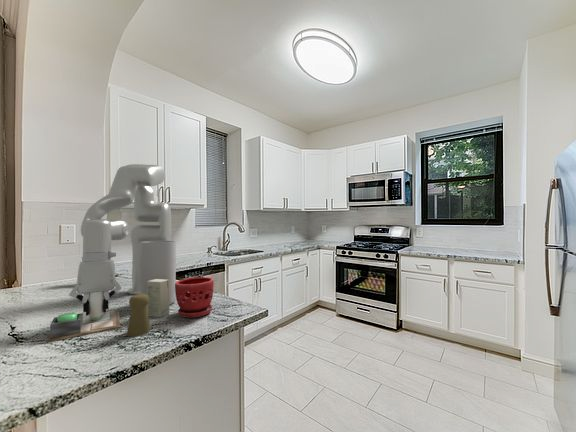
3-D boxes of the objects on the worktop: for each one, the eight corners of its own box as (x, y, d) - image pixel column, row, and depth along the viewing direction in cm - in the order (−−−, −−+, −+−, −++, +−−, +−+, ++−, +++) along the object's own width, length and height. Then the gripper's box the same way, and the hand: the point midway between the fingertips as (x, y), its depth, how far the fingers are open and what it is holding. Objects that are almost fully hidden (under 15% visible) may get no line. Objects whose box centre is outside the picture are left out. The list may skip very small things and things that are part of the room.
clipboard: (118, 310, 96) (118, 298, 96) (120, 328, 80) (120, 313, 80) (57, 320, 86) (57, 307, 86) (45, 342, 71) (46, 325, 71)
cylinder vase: (132, 306, 101) (134, 242, 101) (157, 298, 113) (158, 240, 113) (158, 310, 97) (159, 243, 98) (181, 300, 109) (182, 240, 110)
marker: (103, 314, 89) (104, 285, 88) (103, 319, 85) (104, 288, 85) (88, 317, 86) (89, 287, 86) (87, 322, 83) (88, 290, 83)
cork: (133, 328, 80) (133, 292, 80) (153, 327, 81) (154, 292, 81) (122, 336, 74) (123, 297, 74) (144, 336, 75) (145, 297, 75)
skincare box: (169, 313, 93) (170, 279, 93) (160, 317, 89) (160, 282, 89) (156, 311, 95) (156, 278, 96) (146, 315, 91) (146, 280, 91)
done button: (77, 319, 79) (77, 311, 79) (76, 324, 76) (76, 315, 76) (58, 322, 77) (58, 314, 77) (56, 327, 73) (56, 318, 73)
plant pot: (212, 306, 102) (212, 275, 102) (214, 317, 89) (214, 282, 89) (176, 309, 97) (176, 277, 98) (172, 322, 85) (173, 285, 85)
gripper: (126, 254, 94) (125, 305, 93) (65, 257, 84) (64, 314, 84) (127, 256, 87) (126, 311, 87) (62, 260, 78) (60, 322, 78)
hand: (96, 312), depth 85 cm, fingers closed on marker, 4 cm apart
